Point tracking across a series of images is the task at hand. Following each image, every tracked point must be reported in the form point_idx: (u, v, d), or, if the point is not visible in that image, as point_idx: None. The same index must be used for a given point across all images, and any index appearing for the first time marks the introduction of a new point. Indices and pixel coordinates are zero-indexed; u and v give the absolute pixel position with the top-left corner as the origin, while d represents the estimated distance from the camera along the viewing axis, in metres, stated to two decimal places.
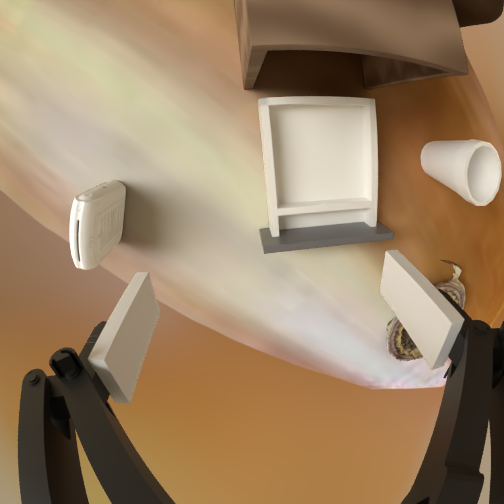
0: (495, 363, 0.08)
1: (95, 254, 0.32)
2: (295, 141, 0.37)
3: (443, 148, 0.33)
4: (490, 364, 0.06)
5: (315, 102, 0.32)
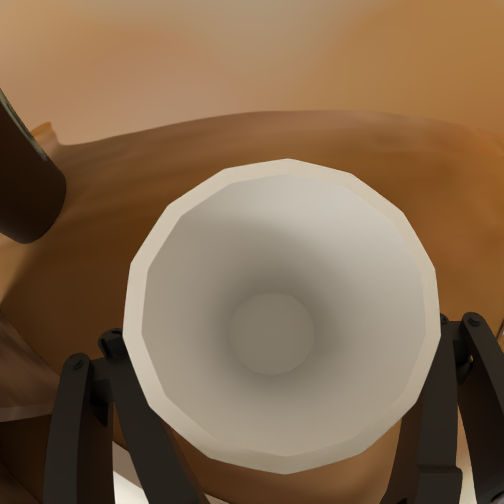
0: (457, 357, 0.09)
1: None
2: None
3: None
4: (451, 355, 0.07)
5: None
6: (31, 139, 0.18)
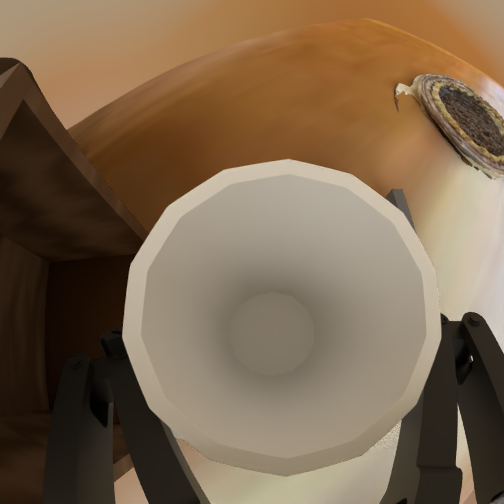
0: (456, 357, 0.09)
1: None
2: None
3: None
4: (451, 355, 0.07)
5: None
6: None
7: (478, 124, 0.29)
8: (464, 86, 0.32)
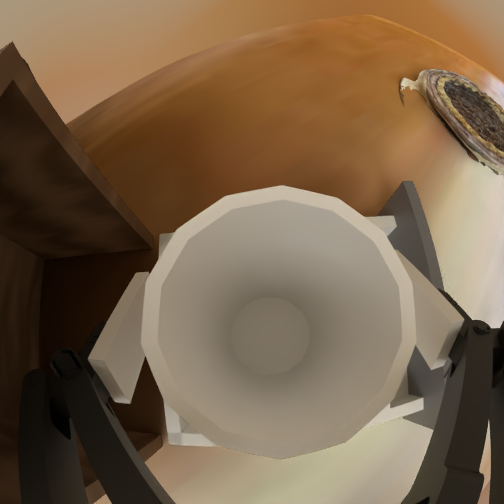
0: (495, 363, 0.08)
1: None
2: None
3: None
4: (490, 364, 0.06)
5: None
6: None
7: (484, 119, 0.28)
8: (468, 81, 0.31)
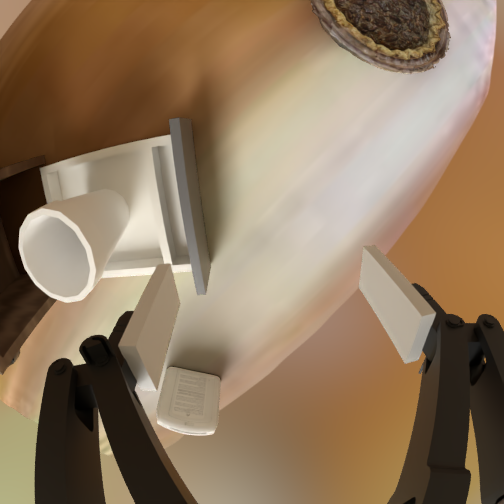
0: (471, 358, 0.08)
1: (202, 421, 0.37)
2: None
3: None
4: (466, 358, 0.07)
5: None
6: None
7: (387, 6, 0.20)
8: None
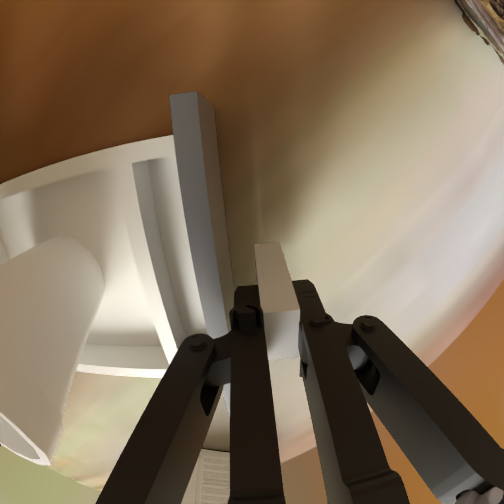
0: None
1: None
2: None
3: None
4: (345, 356, 0.08)
5: None
6: None
7: None
8: None
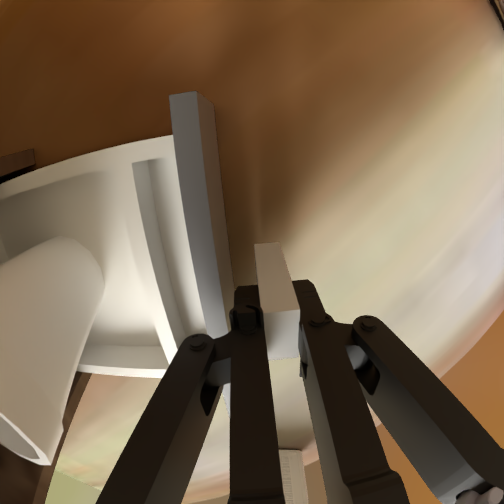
0: None
1: None
2: None
3: None
4: (345, 355, 0.08)
5: None
6: None
7: None
8: None
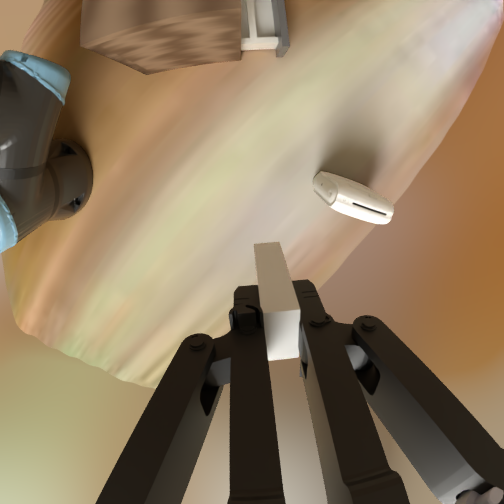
0: None
1: (382, 197, 0.36)
2: None
3: None
4: (345, 356, 0.08)
5: None
6: None
7: None
8: None
